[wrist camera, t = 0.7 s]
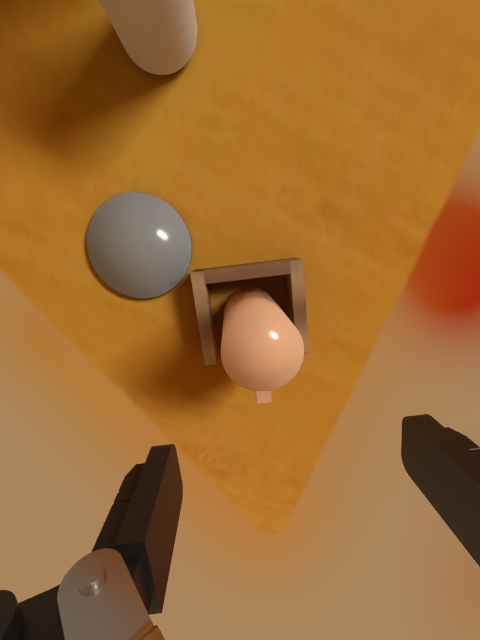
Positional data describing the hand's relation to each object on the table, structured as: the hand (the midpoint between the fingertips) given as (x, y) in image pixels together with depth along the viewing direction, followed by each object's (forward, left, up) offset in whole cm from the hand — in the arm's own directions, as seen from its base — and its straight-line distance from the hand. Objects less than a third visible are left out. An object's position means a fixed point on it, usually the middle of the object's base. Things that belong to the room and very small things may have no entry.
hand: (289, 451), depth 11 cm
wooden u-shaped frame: (0, 0, -22) cm, 22 cm away
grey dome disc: (-8, -10, -22) cm, 25 cm away
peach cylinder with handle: (+1, 0, -22) cm, 22 cm away
